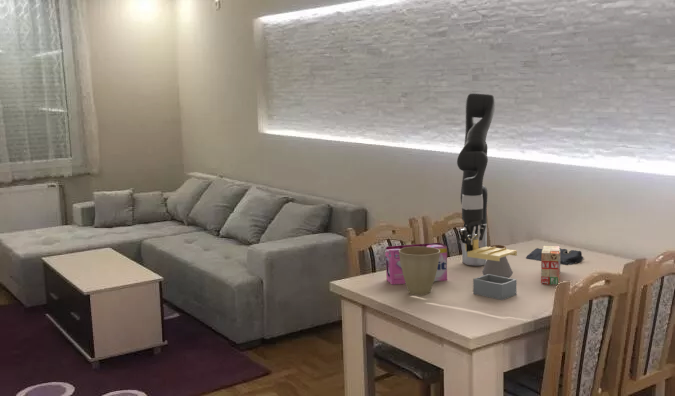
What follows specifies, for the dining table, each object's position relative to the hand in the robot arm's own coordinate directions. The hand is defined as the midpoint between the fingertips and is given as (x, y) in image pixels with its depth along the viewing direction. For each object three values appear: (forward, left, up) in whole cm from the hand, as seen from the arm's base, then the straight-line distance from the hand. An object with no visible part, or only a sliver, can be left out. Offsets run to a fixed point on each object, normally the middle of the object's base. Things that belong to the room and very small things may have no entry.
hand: (472, 253), depth 259 cm
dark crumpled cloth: (-4, +64, -15) cm, 65 cm away
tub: (+10, 0, -14) cm, 17 cm away
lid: (+6, 0, 0) cm, 6 cm away
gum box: (-25, -2, -14) cm, 29 cm away
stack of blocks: (+11, +35, -14) cm, 39 cm away
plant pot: (-12, -15, -14) cm, 24 cm away
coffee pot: (-7, +18, -14) cm, 24 cm away
